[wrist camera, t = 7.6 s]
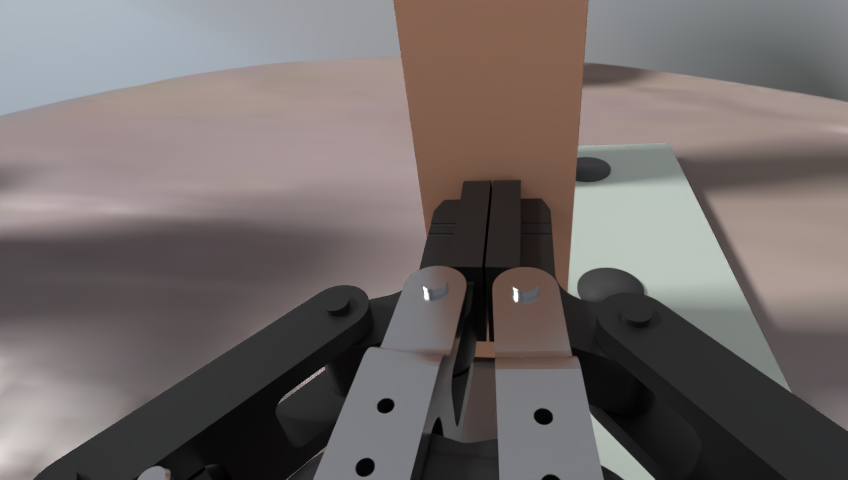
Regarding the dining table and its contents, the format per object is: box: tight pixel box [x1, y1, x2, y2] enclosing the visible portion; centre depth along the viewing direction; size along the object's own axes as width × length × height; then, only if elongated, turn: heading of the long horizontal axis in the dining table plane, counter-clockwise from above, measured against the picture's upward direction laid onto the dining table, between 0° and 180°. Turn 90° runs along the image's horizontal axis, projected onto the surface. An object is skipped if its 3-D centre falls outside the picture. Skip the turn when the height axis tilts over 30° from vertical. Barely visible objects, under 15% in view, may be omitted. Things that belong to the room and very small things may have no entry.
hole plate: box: [568, 143, 792, 480], centre depth 21 cm, size 26×10×1 cm, turn 171°
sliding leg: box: [393, 0, 588, 358], centre depth 14 cm, size 4×9×15 cm, turn 81°
